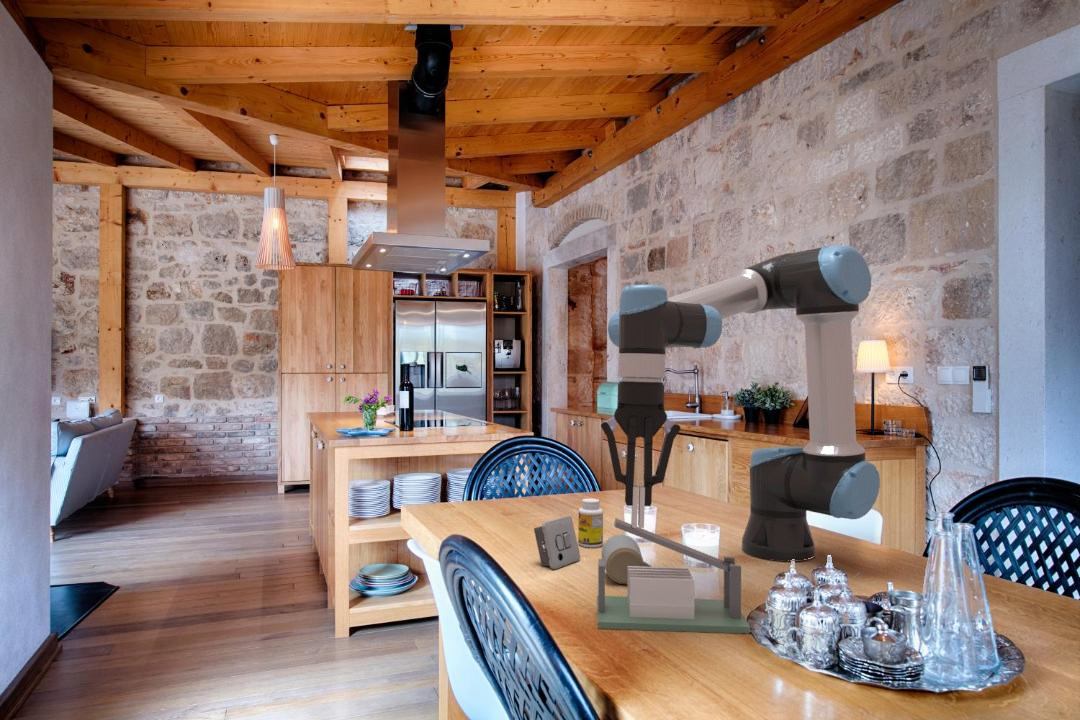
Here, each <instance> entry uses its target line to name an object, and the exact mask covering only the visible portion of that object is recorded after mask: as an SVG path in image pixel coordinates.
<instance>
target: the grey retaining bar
mask: <svg viewBox="0 0 1080 720" xmlns="http://www.w3.org/2000/svg"><path fill="white" fill-rule="evenodd" d="M613 525H614V528H616V529H619V530H622V531H624V532H627V533H629V534H631V535H634V536H637V537H639V538H642V539H643V540H647V541H649V542H651V543H653V544H654V543H655V545H656V544H657V545H659V546H662V547H664V548H667V549H669V550H672V551H675V552H677V553H679V554H682V555H684V556H687V557H690V558H691V559H695V560H696V561H700V562H702V563H705V564H707V565H709V566H712V567H715V568H718V569H719V570H722V571H724V570H725V571H727V572H729V574H730V565H736V563H735V564H734V562H732V561H729V562H725V561H724V559H723V560H722V559H720V558H717V557H715V556H713V555H710V554H707V553H705V552H702V551H699V550H697V549H695V548H692V547H690V546H688V545H684V544H683V543H680V542H677V541H674V540H672V539H669V538H667V537H665V536H661V535H660V534H657V533H654V532H653V531H649V530H647V529H645V528H639V526H637V528H632V525H631V523H629V522H626V521H624V520H621V519H619V518H615V519H614V522H613Z"/></svg>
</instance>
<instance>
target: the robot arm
mask: <svg viewBox="0 0 1080 720" xmlns="http://www.w3.org/2000/svg"><path fill="white" fill-rule="evenodd" d="M868 265H869V264H868V263H867V261H866V259H865V257H863V256H862V254H861V252H859V251H858V250H857V249H856V248H854V247H852V246H849V245H843V244H842V245H828V246H823V247H818V248H811V249H808V250H801V251H795V252H788V253H783V254H780V255H779V254H778V255H776V256H773V257H771V258H768V259H766V260H763V261H760V262H757V263H756V264H753V265H751V266H748V267H746V268H742V269H739V270H737V271H736V272H735V273H734V274H733V275H732V277H730V278H726V279H724V280H721V281H717V282H714V283H712V284H708V285H705V286H702V287H698V288H695V289H692V290H689V291H685V292H682V293H679V294H677V295H673V296H670V297H668V295H667V289H666V287H664V286H661V285H656V284H633V285H627V286H625V287H624V288H623V289H622V290H621V293H620V299H619V300H620V301H619V310H618V311H616V312H615V313H613V315H611V317H610V319H609V320H608V324H607V333H608V334H607V335H608V337H609V339H610V341H611V343H612V344H613V345H614V346H615V347H618V348H619V349H618V367H617V368H618V372H617V376H618V377H619V378H621V381H619V382H618V383H617V403H616V404H617V405H616V406H617V407H616V409H615V411H614V413H613V416H612V417H611V418H608V419H606V420H603V421H602V422H601V423H600V428H601V429H602V431H603V432H604V435H606V439H607V445H608V449H609V455H610V459H611V464H612V465H611V466H612V470H613V471H612V472H613V474H614V479H615V481H616V482H619V483H621V484H624V486H625V487H624V501H625V502H624V503H625V505H626V506H630V507H631V519H630V520H631V521H630V524H631V525H632V528H637V527H639V528H642V529H645V509H646V508H645V507H651V506H652V500H653V499H652V497H653V486H655V485H657V484H662V483H663V482H664V480H665V476H666V472H667V468H668V464H669V461H670V456H671V452H672V448H673V445H674V440H675V438H676V437H677V436H678V434H679V432H680V431H681V426H680V425H679V424H678V423H674V421H671V420H670V419H669V418H668V415H667V413H666V410H665V386H666V385H665V384H664V383H663V382H662V380H663V379H665V378H666V348H693V349H700V348H701V349H702V348H704V349H705V348H710V347H713V346H714V345H715V344H716V343H717V342H718V341H719V339H720V337H721V335H722V332H723V320H725V319H728V318H730V317H733V316H737V315H738V314H741V313H746V314H755V313H759V312H761V311H767V310H768V311H769V310H782V309H783V310H785V309H787V310H789V309H795V315H796V318H797V319H798V320H800V321H801V322H802V323H803V325H804V335H805V336H804V337H805V342H804V343H805V356H806V357H805V358H806V359H805V361H806V381H807V401H808V403H807V405H808V423H809V426H808V427H809V428H808V429H809V441H808V443H806V445H805V446H802V445H801V446H799V445H798V446H779V447H778V446H776V447H775V446H774V447H762V448H757V449H754V450H753V451H752V452H751V454H750V465H749V485H750V487H749V491H750V495H749V496H750V498H749V499H750V502H749V503H750V510H749V511H750V513H749V514H750V515H749V518H748V521H747V524H746V527H745V530H744V533H743V535H742V540H741V549H742V551H743V552H744V553H745V552H746V554H747V553H748V555H750V556H752V555H753V556H752V557H755V556H756V558H759V557H760V559H764V558H765V560H770V559H773V560H772V561H777V560H783V561H782V562H791V561H790V560H792V559H795V560H804V559H808V558H811V557H813V556H815V557H816V544H815V540H814V538H813V536H812V531H811V529H810V526H809V523H808V521H807V512H811V513H812V512H813V513H816V514H822V515H826V516H831V517H833V518H836V519H848V520H858V519H861V518H863V517H864V516H866V515H867V514H868V513H869V512H870V511H871V510H872V508H873V506H874V505H875V504H876V501H877V498H878V496H879V492H880V487H881V477H880V473H879V471H878V470H877V467H876V465H875V464H873V463H872V462H871V461H866V450H865V447H863V446H862V445H861V444H860V443H858V441H857V428H856V425H857V424H856V410H855V406H856V405H855V385H854V382H855V381H854V380H855V379H854V364H853V341H852V339H853V338H852V337H853V336H852V321H853V320H854V319H855V318H856V317H857V316H858V315H859V313H860V310H859V309H860V308H859V307H860V306H859V305H860V304H862V303H863V302H865V301H866V300H867V299H868V297H869V296H870V291H871V289H872V276H871V272H870V269H869V266H868ZM616 424H618V426H619V427H620V428H621V430H622V431H623V433H624V434H625V436H626V437H627V438H626V456H625V457H626V458H625V460H626V461H625V474H623V473H622V468H621V463H620V462H621V461H620V459H619V453H618V447H617V443H616V438H615V434H614V432H615V431H616V430H617V429H616V428H617V426H616ZM663 426H664V429H663V431H664V433H665V435H664V438H663V442H662V446H661V449H660V450H661V451H660V454H659V458H658V462H657V466H656V470H655V474H654V475H653V444H654V441H653V440H654V439H653V438H654V437H655V436H656V434H657V433H658V431H660V429H661V428H662V427H663ZM637 438H643V439H642V440H643V484H636V483H635V482H634V481H635V464H636V463H635V459H636V444H637ZM634 483H635V484H634ZM788 560H789V561H788ZM804 561H805V560H804Z"/></svg>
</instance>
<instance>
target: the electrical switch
mask: <svg viewBox="0 0 1080 720" xmlns="http://www.w3.org/2000/svg"><path fill="white" fill-rule="evenodd" d="M541 523H542V524H541V525H540V526H538V527H534V528H533V531H534V534H535V535H534V536H535V540H536V546H537V549H538V555H539V559H540V564H541V567H549V568H550V569H551V570H552V569H553V570H557V569H560V568H563V567H565V566H567V565H570V564H573V563H576V562H579V561H580V559H581V554H580V548H579V543H578V540H577V536H576V532H575V526H574V523H573V518H572V516H570V515H566V516H565V515H564V516H562V517H559V518H555V519H551V520H548V521H544V522H541Z"/></svg>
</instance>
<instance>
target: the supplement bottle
mask: <svg viewBox="0 0 1080 720" xmlns="http://www.w3.org/2000/svg"><path fill="white" fill-rule="evenodd" d="M581 501H582V502H581V507H579V508H578V533H577V534H578V540H577V543H578V545H580V546H581V547H584V548H588V547H589V548H590V549H591V548H592V549H594V548H600V547H601V546H603V545H604V509H602V508H601V505H600V502H601V501H600V500H599V499H597V498H592V497H591V498H590V497H589V498H584V499H582V500H581Z"/></svg>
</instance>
